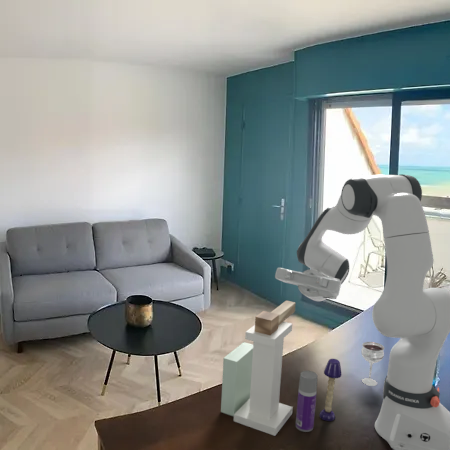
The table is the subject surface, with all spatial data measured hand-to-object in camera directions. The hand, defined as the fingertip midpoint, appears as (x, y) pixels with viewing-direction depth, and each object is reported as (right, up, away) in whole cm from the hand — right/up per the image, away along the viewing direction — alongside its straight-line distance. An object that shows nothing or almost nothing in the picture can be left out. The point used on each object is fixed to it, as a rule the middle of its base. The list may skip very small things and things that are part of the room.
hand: (303, 276), depth 154 cm
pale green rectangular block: (-20, -35, -7) cm, 41 cm away
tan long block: (-9, -11, -14) cm, 20 cm away
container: (-2, -38, -16) cm, 42 cm away
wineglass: (+22, -34, +9) cm, 41 cm away
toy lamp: (+5, -38, -11) cm, 39 cm away
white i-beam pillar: (-13, -37, -13) cm, 41 cm away
